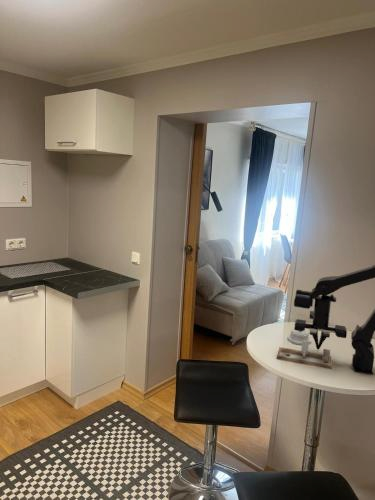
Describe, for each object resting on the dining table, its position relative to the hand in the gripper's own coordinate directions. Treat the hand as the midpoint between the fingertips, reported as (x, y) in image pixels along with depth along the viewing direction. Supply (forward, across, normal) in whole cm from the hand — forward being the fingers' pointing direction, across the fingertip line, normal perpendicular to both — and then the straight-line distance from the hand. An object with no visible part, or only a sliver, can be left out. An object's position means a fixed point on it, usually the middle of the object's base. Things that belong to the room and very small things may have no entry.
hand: (317, 349), depth 145 cm
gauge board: (+4, +5, +2) cm, 7 cm away
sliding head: (+3, +5, +2) cm, 6 cm away
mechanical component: (+5, +8, -16) cm, 19 cm away
